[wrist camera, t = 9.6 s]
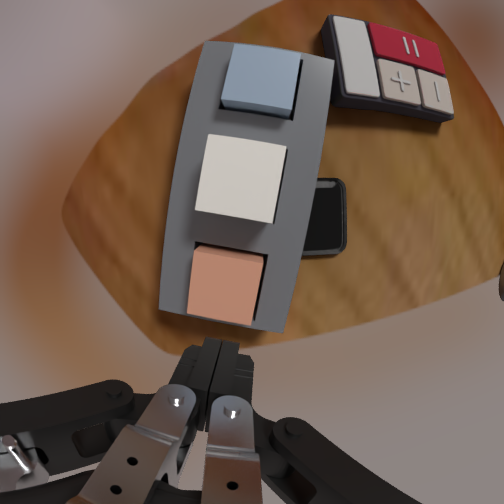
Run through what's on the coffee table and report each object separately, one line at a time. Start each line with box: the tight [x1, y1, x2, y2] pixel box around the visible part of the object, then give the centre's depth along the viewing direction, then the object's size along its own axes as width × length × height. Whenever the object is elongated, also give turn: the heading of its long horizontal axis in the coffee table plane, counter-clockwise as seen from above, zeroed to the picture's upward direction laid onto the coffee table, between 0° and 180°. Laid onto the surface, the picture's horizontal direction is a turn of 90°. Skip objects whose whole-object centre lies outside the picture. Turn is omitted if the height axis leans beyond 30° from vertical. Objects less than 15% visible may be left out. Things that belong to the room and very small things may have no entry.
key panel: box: [159, 41, 334, 333], centre depth 25 cm, size 12×26×5 cm, turn 170°
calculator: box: [321, 15, 454, 123], centre depth 22 cm, size 11×4×15 cm
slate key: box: [221, 44, 301, 120], centre depth 20 cm, size 6×6×4 cm
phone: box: [302, 178, 347, 256], centre depth 28 cm, size 8×1×15 cm
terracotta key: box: [187, 243, 263, 326], centre depth 24 cm, size 6×6×4 cm
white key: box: [195, 134, 287, 223], centre depth 21 cm, size 6×6×4 cm
